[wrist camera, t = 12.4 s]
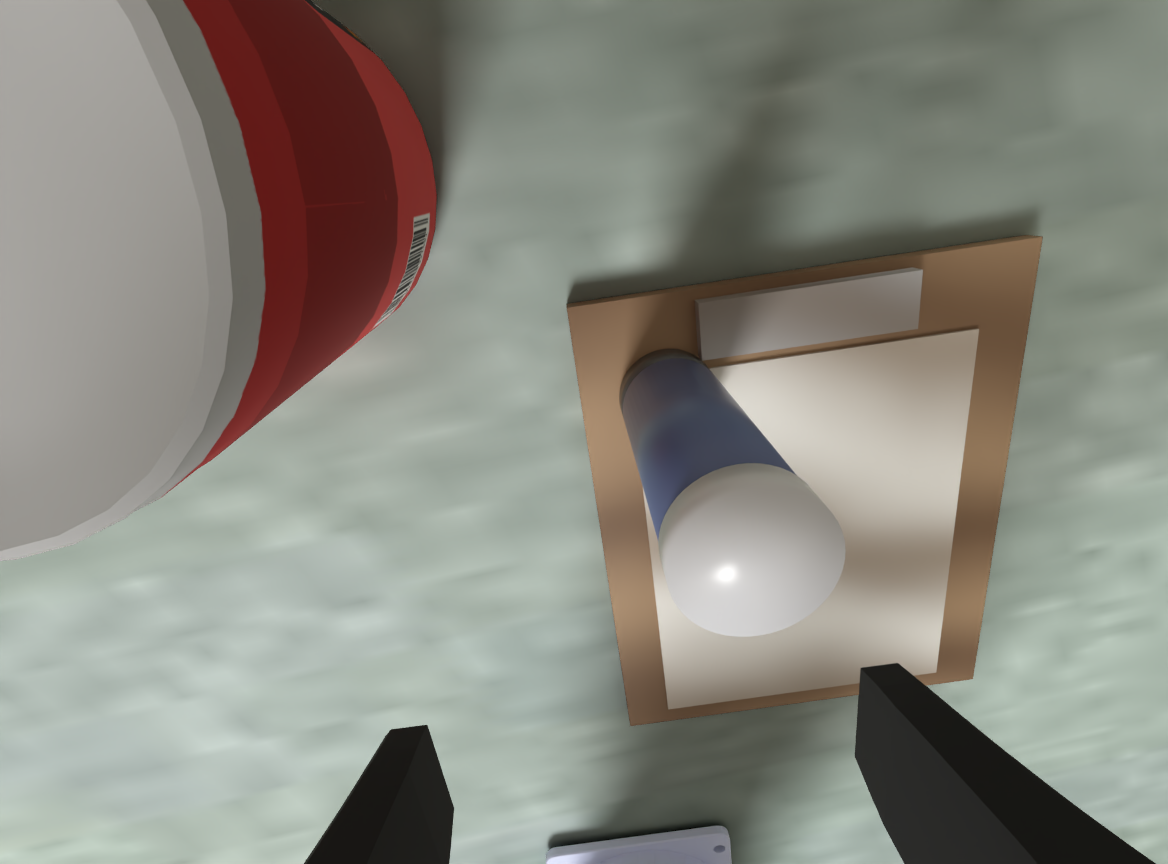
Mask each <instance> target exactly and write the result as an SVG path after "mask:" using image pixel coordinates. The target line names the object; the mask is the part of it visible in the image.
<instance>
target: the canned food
mask: <svg viewBox="0 0 1168 864" xmlns="http://www.w3.org/2000/svg"><path fill="white" fill-rule="evenodd" d="M436 201H437V194H436V186H435V178H434V171H433V163H432V159H431V155H430V152H429V149H428V146H427V142H426V139H425V136H424V133H423V129H422V126H421V124H420V122H419V120H418V118H417V116H416V114H415V112H414V110H413V108H412V106H411V104H410V102H409V100H408V98H407V96H406V94H405V92H404V91H403V89H402V88H401V86H400V85H399V84H398V82H397V81H396V80H395V78H394V77H393V75H392V74H391V73H390V71H389V70H388V68H387V67H386V66H385V64H384V63H383V62H382V60H381V59H380V58H379V57H378V56H377V55H376V54H375V53H374V52H373V51H371V50H370V49H369V48H368V47H367V46H366V45H365V44H364V43H363V42H362V41H361V40H360V39H359V38H358V37H357V36H356V35H355V34H354V33H353V32H352V31H350V30H349V29H348V28H346V27H345V26H344V25H342V24H341V23H340V22H338V21H337V20H336V19H334V18H333V17H332V16H331V15H329V14H328V13H327V12H325V11H324V10H323V9H321V8H320V7H319V6H317V5H316V4H315V3H313V2H312V1H311V0H0V561H2V560H16V559H20V558H24V557H27V556H31V555H35V554H39V553H43V552H46V551H50V550H54V549H58V548H62V547H66V546H69V545H73V544H76V543H78V542H80V541H82V540H84V539H86V538H87V537H89V536H91V535H93V534H95V533H97V532H99V531H101V530H103V529H105V528H107V527H109V526H111V525H113V524H115V523H117V522H119V521H121V520H123V519H124V518H126V517H128V516H129V515H130V514H131V513H133V512H134V511H136V510H138V509H140V508H142V507H144V506H146V505H148V504H150V503H152V502H154V501H156V500H158V499H160V498H161V497H163V496H164V495H165V494H166V493H168V492H169V491H170V490H171V489H173V488H174V487H175V486H177V485H178V484H179V483H180V482H182V481H183V480H184V479H185V478H187V477H188V476H189V475H190V474H192V473H193V472H194V471H195V470H197V469H198V468H200V467H201V466H203V465H204V464H206V463H208V462H209V461H211V460H212V459H213V458H215V457H216V456H217V455H218V454H220V453H221V452H222V451H223V450H225V449H226V448H227V447H228V446H229V445H231V444H232V443H233V442H234V441H236V440H237V439H238V438H239V437H241V436H242V435H243V434H244V433H246V432H247V431H248V430H249V429H251V428H252V427H253V426H254V425H255V424H257V423H258V422H259V421H260V420H262V419H263V418H264V417H265V416H267V415H268V414H269V413H270V412H272V411H273V410H274V409H275V408H276V407H278V406H279V405H280V404H281V403H283V402H284V401H285V400H286V399H288V398H289V397H290V396H291V395H293V394H294V393H295V392H296V391H298V390H299V389H300V388H301V387H302V386H304V385H305V384H306V383H307V382H309V381H310V380H311V379H312V378H314V377H315V376H316V375H317V374H319V373H320V372H321V371H322V370H323V369H325V368H326V367H327V366H328V365H330V364H331V363H332V362H333V361H335V360H336V359H337V358H338V357H340V356H341V355H342V354H343V353H345V352H346V351H347V350H348V349H349V348H351V347H352V346H353V345H354V344H356V343H357V342H358V341H359V340H361V339H362V338H363V337H364V336H366V335H367V334H368V333H369V332H370V331H372V330H373V329H374V328H375V327H377V326H378V325H379V324H380V323H381V322H383V321H384V320H385V319H386V318H387V317H388V316H390V315H391V314H392V313H393V312H394V311H395V310H397V309H398V308H399V307H400V306H401V304H402V303H403V302H404V300H405V299H406V298H407V296H408V295H409V294H410V292H411V291H412V290H413V288H414V287H415V286H416V284H417V282H418V279H419V277H420V275H421V273H422V271H423V269H424V266H425V264H426V262H427V260H428V257H429V253H430V248H431V244H432V240H433V236H434V232H435V223H436Z"/></svg>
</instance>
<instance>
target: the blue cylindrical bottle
mask: <svg viewBox="0 0 1168 864" xmlns="http://www.w3.org/2000/svg"><path fill="white" fill-rule="evenodd" d="M619 402H620V407H621V411H622V415H623V418H624V422H625V426H626V429H627V433H628V436H629V440H630V443H631V447H632V450H633V454H634V457H635V461H636V464H637V468H638V472H639V475H640V479H641V482H642V486H643V489H644V493H645V496H646V500H647V503H648V507H649V511H650V514H651V518H652V521H653V525H654V528H655V532H656V535H657V539H658V548H659V555H660V560H661V564H662V567H663V571H664V575H665V578H666V582H667V585H668V589H669V592H670V594H671V597H672V599H673V601H674V603H675V604H676V606H677V607H678V608H679V610H680V611H681V612H682V613H683V614H684V615H685V616H686V617H687V618H688V619H689V620H690V621H692V622H693V623H695V624H697V625H698V626H700V627H702V628H704V629H706V630H708V631H711V632H714V633H717V634H722V635H727V636H735V637H751V636H760V635H765V634H770V633H773V632H776V631H780V630H783V629H785V628H787V627H789V626H792V625H794V624H796V623H797V622H799V621H801V620H803V619H804V618H806V617H807V616H808V615H810V614H811V613H813V612H814V611H815V610H816V609H817V608H818V607H819V606H820V605H821V604H822V603H823V602H824V601H825V600H826V599H827V598H828V596H829V595H830V594H831V592H832V591H833V590H834V588H835V586H836V584H837V582H838V581H839V578H840V576H841V573H842V570H843V566H844V562H845V552H846V550H845V540H844V536H843V532H842V529H841V527H840V525H839V523H838V521H837V519H836V518H835V516H834V515H833V514H832V512H831V511H830V510H829V509H828V508H827V506H826V505H825V504H824V503H823V502H822V500H821V499H820V498H819V497H818V496H817V494H816V493H815V492H814V491H813V490H812V489H811V487H810V486H809V485H808V484H807V483H806V482H805V481H803V480H802V479H801V478H800V477H798V476H797V475H796V474H795V473H794V471H793V470H792V469H791V468H790V466H789V465H788V464H787V463H786V462H785V460H784V459H783V458H782V457H781V456H780V454H779V453H778V452H777V451H776V449H775V448H774V447H773V446H772V445H771V443H770V442H769V441H768V440H767V439H766V437H765V436H764V435H763V434H762V432H761V431H760V430H759V429H758V428H757V426H756V425H755V424H754V423H753V422H752V420H751V419H750V418H749V417H748V415H747V414H746V413H745V412H744V411H743V409H742V408H741V407H740V406H739V404H738V403H737V402H736V401H735V400H734V398H733V397H732V396H731V395H730V394H729V392H728V391H727V390H726V389H725V387H724V386H723V385H722V384H721V383H720V381H719V380H718V379H717V378H716V377H715V375H714V374H713V373H712V372H711V370H710V369H709V368H708V367H707V366H706V364H705V363H704V362H703V361H702V360H701V359H699V358H698V357H697V356H695V355H693V354H692V353H689V352H687V351H684V350H680V349H661V350H657V351H653V352H651V353H648V354H647V355H645V356H643V357H641V358H640V359H639V360H637V361H636V362H635V363H634V364H633V365H632V366H631V367H630V368H629V370H628V371H627V373H626V374H625V376H624V378H623V380H622V383H621V387H620V392H619Z"/></svg>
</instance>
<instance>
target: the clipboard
mask: <svg viewBox="0 0 1168 864" xmlns="http://www.w3.org/2000/svg"><path fill="white" fill-rule="evenodd" d="M1042 238H1043V237H1041V236H1031V235H1023V236H1016V237H1010V238H1003V239H996V240H989V241H983V242H976V243H969V244H963V245H956V246H949V247H943V248H936V249H929V250H923V251H916V252H909V253H903V254H896V255H889V256H883V257H876V258H869V259H863V260H856V261H849V262H843V263H836V264H829V265H823V266H816V267H809V268H803V269H796V270H789V271H783V272H776V273H769V274H763V275H756V276H749V277H742V278H736V279H729V280H722V281H716V282H709V283H702V284H696V285H689V286H682V287H676V288H669V289H662V290H656V291H649V292H642V293H636V294H629V295H622V296H616V297H609V298H602V299H596V300H589V301H582V302H576V303H569V304H567V312H568V319H569V326H570V332H571V339H572V345H573V352H574V358H575V365H576V372H577V378H578V385H579V391H580V398H581V404H582V411H583V418H584V424H585V431H586V437H587V444H588V451H589V457H590V464H591V470H592V477H593V483H594V490H595V497H596V503H597V510H598V516H599V523H600V529H601V536H602V543H603V549H604V556H605V562H606V569H607V576H608V582H609V589H610V595H611V602H612V608H613V615H614V622H615V628H616V635H617V641H618V648H619V655H620V661H621V668H622V674H623V681H624V687H625V694H626V701H627V707H628V714H629V720H630V726H635V725H642V724H649V723H657V722H664V721H671V720H678V719H686V718H693V717H700V716H707V715H715V714H722V713H729V712H736V711H744V710H751V709H758V708H766V707H773V706H780V705H787V704H795V703H802V702H809V701H816V700H824V699H831V698H838V697H845V696H853V695H859V684H860V669H861V668H862V667H870V666H878V665H885V664H893V663H899V664H900V665H901V666H902V667H904V668H905V669H906V670H907V671H908V672H910V673H911V674H912V675H913V676H915V677H916V678H917V679H918V680H919V681H921V682H922V683H923V684H924V685H933V684H940V683H947V682H954V681H962V680H969V679H973V674H974V668H975V662H976V655H977V649H978V643H979V636H980V630H981V624H982V617H983V611H984V605H985V598H986V592H987V586H988V579H989V573H990V567H991V560H992V554H993V548H994V542H995V535H996V529H997V523H998V516H999V510H1000V504H1001V497H1002V491H1003V485H1004V478H1005V472H1006V466H1007V459H1008V453H1009V447H1010V440H1011V434H1012V428H1013V421H1014V415H1015V409H1016V402H1017V396H1018V390H1019V384H1020V377H1021V371H1022V365H1023V358H1024V352H1025V346H1026V339H1027V333H1028V327H1029V320H1030V314H1031V308H1032V301H1033V295H1034V289H1035V282H1036V276H1037V270H1038V263H1039V257H1040V251H1041V244H1042ZM661 349H680V350H684V351H687V352H689V353H692V354H693V355H695V356H697V357H698V358H699V359H701V360H702V361H703V362H704V363H705V364H706V366H707V367H708V368H709V369H710V370H711V372H712V373H713V374H714V375H715V377H716V378H717V379H718V380H719V381H720V383H721V384H722V385H723V386H724V387H725V389H726V390H727V391H728V392H729V394H730V395H731V396H732V397H733V398H734V400H735V401H736V402H737V403H738V404H739V406H740V407H741V408H742V409H743V411H744V412H745V413H746V414H747V415H748V417H749V418H750V419H751V420H752V422H753V423H754V424H755V425H756V426H757V428H758V429H759V430H760V431H761V432H762V434H763V435H764V436H765V437H766V439H767V440H768V441H769V442H770V443H771V445H772V446H773V447H774V448H775V449H776V451H777V452H778V453H779V454H780V456H781V457H782V458H783V459H784V460H785V462H786V463H787V464H788V465H789V466H790V468H791V469H792V470H793V471H794V473H795V474H796V475H797V476H798V477H800V478H801V479H802V480H803V481H805V482H806V483H807V484H808V485H809V486H810V487H811V489H812V490H813V491H814V492H815V493H816V494H817V496H818V497H819V498H820V499H821V500H822V502H823V503H824V504H825V505H826V506H827V508H828V509H829V510H830V511H831V512H832V514H833V515H834V516H835V518H836V519H837V521H838V523H839V525H840V527H841V529H842V532H843V536H844V540H845V550H846V552H845V562H844V566H843V570H842V573H841V576H840V578H839V581H838V582H837V584H836V586H835V588H834V590H833V591H832V592H831V594H830V595H829V596H828V598H827V599H826V600H825V601H824V602H823V603H822V604H821V605H820V606H819V607H818V608H817V609H816V610H815V611H814V612H813V613H811V614H810V615H808V616H807V617H806V618H804V619H803V620H801V621H799V622H797V623H796V624H794V625H792V626H789V627H787V628H785V629H783V630H780V631H776V632H773V633H770V634H765V635H760V636H751V637H735V636H727V635H722V634H717V633H714V632H711V631H708V630H706V629H704V628H702V627H700V626H698V625H697V624H695V623H693V622H692V621H690V620H689V619H688V618H687V617H686V616H685V615H684V614H683V613H682V612H681V611H680V610H679V608H678V607H677V606H676V604H675V603H674V601H673V599H672V597H671V594H670V592H669V589H668V585H667V582H666V578H665V575H664V571H663V567H662V564H661V560H660V555H659V548H658V539H657V535H656V532H655V528H654V525H653V521H652V518H651V514H650V511H649V507H648V503H647V500H646V496H645V493H644V489H643V486H642V482H641V479H640V475H639V472H638V468H637V464H636V461H635V457H634V454H633V450H632V447H631V443H630V440H629V436H628V433H627V429H626V426H625V422H624V418H623V415H622V411H621V407H620V402H619V392H620V387H621V383H622V380H623V378H624V376H625V374H626V373H627V371H628V370H629V368H630V367H631V366H632V365H633V364H634V363H635V362H636V361H637V360H639V359H640V358H641V357H643V356H645V355H647V354H648V353H651V352H653V351H657V350H661Z"/></svg>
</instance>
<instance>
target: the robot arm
mask: <svg viewBox="0 0 1168 864" xmlns="http://www.w3.org/2000/svg"><path fill="white" fill-rule="evenodd" d="M855 758H856V760H857V762H858V765H859V767H860V770H861V772H862V775H863V777H864V780H865V782H866V785H867V787H868V789H869V792H870V794H871V797H872V799H873V801H874V803H875V806H876V808H877V810H878V813H879V815H880V817H881V820H882V822H883V824H884V826H885V828H886V830H887V832H888V834H889V836H890V837H891V839H892V841H893V843H894V845H895V847H896V849H897V851H898V852H899V854H900V856H901V858H902V860H903V862H904V864H1156V863H1154V862H1153V861H1151V860H1150V859H1148V858H1147V857H1146V856H1144V855H1143V854H1141V853H1140V852H1138V851H1137V850H1136V849H1134V848H1133V847H1131V846H1130V845H1129V844H1127V843H1126V842H1124V841H1123V840H1122V839H1120V838H1119V837H1118V836H1116V835H1115V834H1113V833H1112V832H1111V831H1109V830H1108V829H1107V828H1105V827H1104V826H1102V825H1101V824H1100V823H1098V822H1097V821H1096V820H1094V819H1093V818H1092V817H1090V816H1089V815H1087V814H1086V813H1085V812H1083V811H1082V810H1081V809H1079V808H1078V807H1077V806H1075V805H1074V804H1073V803H1071V802H1070V801H1069V800H1067V799H1066V798H1065V797H1063V796H1062V795H1061V794H1059V793H1058V792H1057V791H1056V790H1054V789H1053V788H1052V787H1050V786H1049V785H1048V784H1047V783H1045V782H1044V781H1043V780H1041V779H1040V778H1039V777H1038V776H1036V775H1035V774H1034V773H1032V772H1031V771H1030V770H1029V769H1027V768H1026V767H1025V766H1024V765H1022V764H1021V763H1020V762H1018V761H1017V760H1016V759H1015V758H1013V757H1012V756H1011V755H1009V754H1008V753H1007V752H1006V751H1004V750H1003V749H1002V748H1001V747H999V746H998V745H997V744H996V743H994V742H993V741H992V740H991V739H990V738H988V737H987V736H986V735H985V734H983V733H982V732H981V731H980V730H978V729H977V728H976V727H975V726H974V725H972V724H971V723H970V722H969V721H968V720H966V719H965V718H964V717H963V716H961V715H960V714H959V713H958V712H957V711H955V710H954V709H953V708H952V707H951V706H949V705H948V704H947V703H946V702H945V701H943V700H942V699H941V698H940V697H939V696H937V695H936V694H935V693H934V692H933V691H931V690H930V689H929V688H928V687H927V686H925V685H924V684H923V683H922V682H921V681H919V680H918V679H917V678H916V677H915V676H913V675H912V674H911V673H910V672H908V671H907V670H906V669H905V668H904V667H902V666H901V665H900V664H899V663H893V664H885V665H878V666H870V667H862V668H861V669H860V684H859V699H858V715H857V730H856V745H855ZM453 813H454V807H453V804H452V800H451V797H450V794H449V791H448V788H447V785H446V782H445V779H444V776H443V772H442V769H441V766H440V763H439V760H438V757H437V754H436V751H435V748H434V745H433V741H432V738H431V735H430V732H429V729H428V726H427V725H422V726H415V727H407V728H399V729H392V730H390V731H389V733H388V734H387V735H386V736H385V738H384V740H383V741H382V743H381V744H380V746H379V748H378V749H377V751H376V753H375V754H374V756H373V757H372V759H371V761H370V762H369V764H368V765H367V767H366V769H365V770H364V772H363V774H362V775H361V777H360V778H359V780H358V782H357V783H356V785H355V786H354V788H353V790H352V791H351V793H350V794H349V796H348V797H347V799H346V801H345V802H344V804H343V805H342V807H341V808H340V810H339V811H338V813H337V815H336V816H335V818H334V819H333V821H332V822H331V824H330V825H329V827H328V828H327V830H326V831H325V833H324V834H323V836H322V837H321V839H320V840H319V842H318V843H317V845H316V846H315V848H314V849H313V851H312V852H311V854H310V855H309V857H308V858H307V860H306V861H305V863H304V864H449V859H450V849H451V837H452V825H453ZM546 864H732V861H731V846H730V837H729V833H728V830H727V829H726V828H725V827H723V826H709V827H701V828H694V829H687V830H679V831H672V832H664V833H657V834H649V835H642V836H635V837H627V838H620V839H612V840H605V841H597V842H590V843H583V844H575V845H568V846H560V847H554V848H551V849H550V850H548V851H547V853H546Z"/></svg>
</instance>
